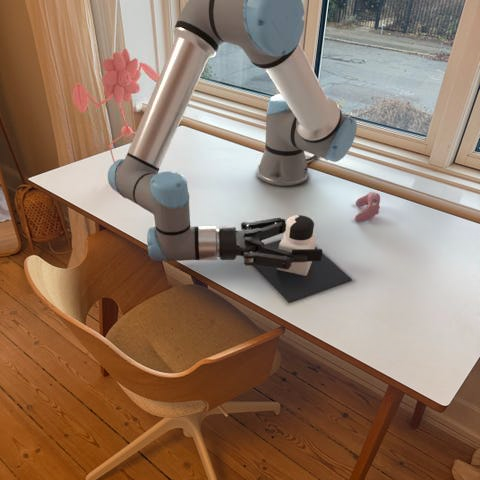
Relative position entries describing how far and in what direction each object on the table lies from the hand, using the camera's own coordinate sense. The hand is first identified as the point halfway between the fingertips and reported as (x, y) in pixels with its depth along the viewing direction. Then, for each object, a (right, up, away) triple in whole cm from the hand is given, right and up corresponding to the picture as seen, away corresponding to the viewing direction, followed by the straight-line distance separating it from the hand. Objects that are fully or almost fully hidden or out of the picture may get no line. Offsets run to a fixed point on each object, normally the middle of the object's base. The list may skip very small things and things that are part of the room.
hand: (317, 241), depth 105 cm
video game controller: (+17, +11, +22) cm, 30 cm away
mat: (-4, -5, +4) cm, 8 cm away
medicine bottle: (-5, -5, +4) cm, 8 cm away
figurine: (-47, +22, +32) cm, 61 cm away
